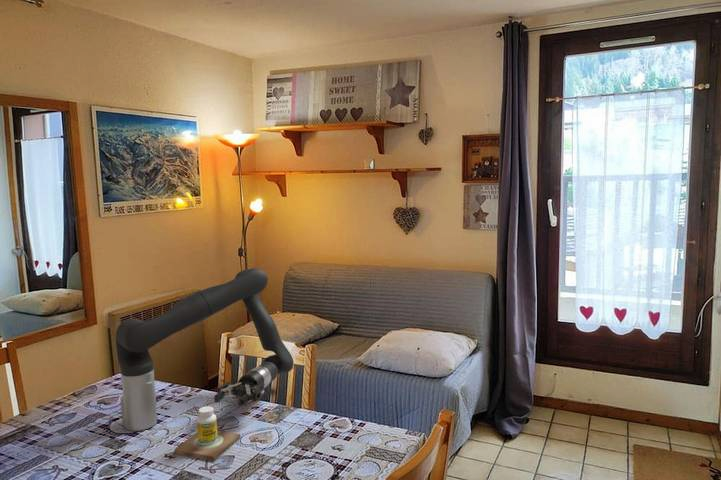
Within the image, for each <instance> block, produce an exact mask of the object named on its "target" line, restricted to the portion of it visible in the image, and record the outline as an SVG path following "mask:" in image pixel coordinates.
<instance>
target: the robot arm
mask: <svg viewBox="0 0 721 480" xmlns="http://www.w3.org/2000/svg"><path fill="white" fill-rule="evenodd" d="M268 280H269V279H268V275H267V274H266V272H265V271H264V270H262V269H259V268H255V267H254V268H247V269H242V270H241V271H239V272H238V273H236V275H235V277H234V279H232V280H230V281H227V282H225V283H221V284H217V285H214V286H210V287H207V288H204V289H201V290H199V291H196V292H194V293H191V294H190V295H187V296H185V297H184V298H182V299H181V300H179V301H178V302H176V303H175V304H174V306H172V307H171V308H170V309H169V310H168V311H165V313H163V314H161V315H158V316H156V317H153V318H151V319H148V320H145V321H143V320H140V319H138V318H135V317H133V318H127V319H125V320H123V321H122V322H120V323H119V325H118V327H117V329H116V332H115V346H116V347H115V348H116V353H117V355H116V356H117V361H118V366H119V368H120V375H121V377H120V378H121V389H122V395H121V396H120V407H121V408H120V409H121V421H122V427H124V428H125V429H126V430H128V431H132V432H136V431H137V432H138V431H145V430H148V429H150V428H152V427H154V426H155V425H157V422H158V415H157V414H158V413H157V398H156V397H157V396H156V384H155V383H156V381H155V369H154V361H153V359H152V356H151V355H150V351H149V349H152V347H154V346H156V345H157V344H159V343H160V342H162V341H164V340H165V339H167V338H169V337H170V336H173V335H174V334H176V333H179V332H181V331H184V330H185V329H187V328H189V327H191V326H193V325H196V324H198V323H200V322H202V321H204V320H206V319H208V318H210V317H212V316H214V315H216V314H217V313H219V312H221V311H223V310H224V309H227V308H228V307H230V306H232V305H233V304H235V303H237V302H239V301H242V302H243V304H244V305H245V308H246V310H247V312H248V314H249V316H250V318H251V320H252V322H253V325H254V327H255V330H256V332H257V333H256V334H257V336H258V338H259V342H260V344H261V347H262V350H264V351H265V352H266V351H267V352H273V353H274V354H272V355H269V356H267V357H265V358H264V359H263V360H262V362H261V363H260V364H259V365H258V366H256V367H254V368H252V369H251V370H248V371H247V372H246V373H245V374H243V375H242V376H241V377H239V380H238V382H237V383H234V384H231V382H230V381H226V382H225V383H223V384H222V385H220V386H218V387H217V388H216V394H215V395H214V397H213V398H214V402H215V403H219V402H220V401H222V400H223V399H224V398H234V397H240V398H239V399H238V405H239V406H240V407H243V406H244V405H246V404H247V403H248V402H252V401H253V402H258V401H259V400H260V399H261V398H262V397H264V396H265V389H266V387H268V386H269V384H271V383H272V382H273V381H274V380H275V379H276V378H277V376H278V375H281V374H285V373H289V372H291V371H292V370H293V369H294V363H295V362H294V358H293V355H292V354H291V352H290V351H289V349H288V348H287V347H286V345H285V344H284V342H283V341H282V338H281V335H280V332H279V330H278V327H277V325H276V323H275V320H274V318H272V316H271V315H270V312H268V310H267V308H266V307H265V306H264V303H263V301H262V300H261V299H262V298H261V295H260V293H262V292H263V291H264V290H265V289H266V287H267V285H268V282H269V281H268Z"/></svg>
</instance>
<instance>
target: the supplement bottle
mask: <svg viewBox="0 0 721 480" xmlns="http://www.w3.org/2000/svg"><path fill="white" fill-rule="evenodd" d="M214 412H215V410H214V407H213V406H208V405H207V406H203V407H200V408H199V409H198V417H196V427H197V428H196V429H197V432H198V442H199V444H201V445H211V444H213V443H215V442H216V441H217V439H218V435H217V430H218V425H217V422H218V421H217V415H216V414H215V413H214Z"/></svg>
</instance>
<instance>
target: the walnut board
mask: <svg viewBox="0 0 721 480" xmlns="http://www.w3.org/2000/svg"><path fill="white" fill-rule="evenodd" d="M217 435H218V439H217V441H216V442H215V443H213V444H211V445H201V444H199V442H198V431H197V432H195V433H194V434H192V436H190V437H189V438H187V439H186V440H184V441H183V442H182V443H181V444H180V445H178V446H177V447H176V448H175V449H174V450H173V451H174V454H175V455H180V456H181V455H182V456H186V457H192V458H197V459H201V460H202V459H203V460H208V461H213V462H215V461H216V460H218V459H219V458H220V456H222V455H224V454H225V452H226V451H227V450H229V449H230V448H231V447H232V446H234V444H235V443H237V442H238V441H239V440H240V439H241V434H240V433H234V432H229V431H222V430H219V429H217Z"/></svg>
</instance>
